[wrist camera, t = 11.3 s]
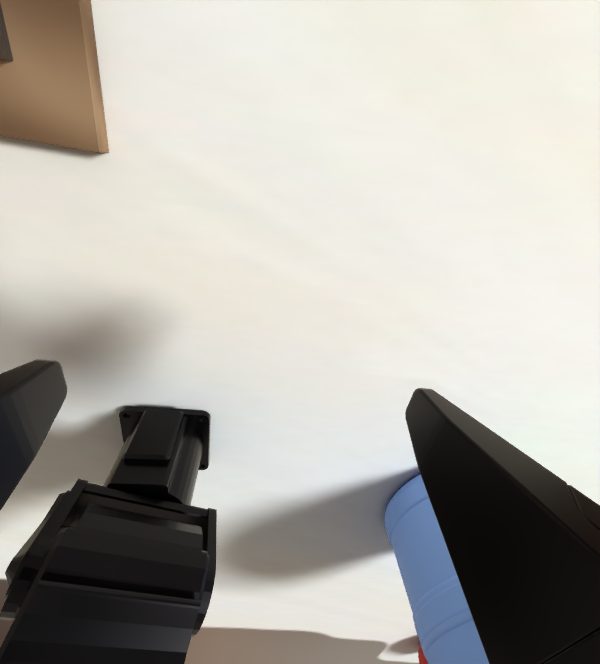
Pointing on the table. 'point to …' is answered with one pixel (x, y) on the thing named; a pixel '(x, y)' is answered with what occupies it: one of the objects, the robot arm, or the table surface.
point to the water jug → (431, 579)
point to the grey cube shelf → (4, 39)
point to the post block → (52, 75)
